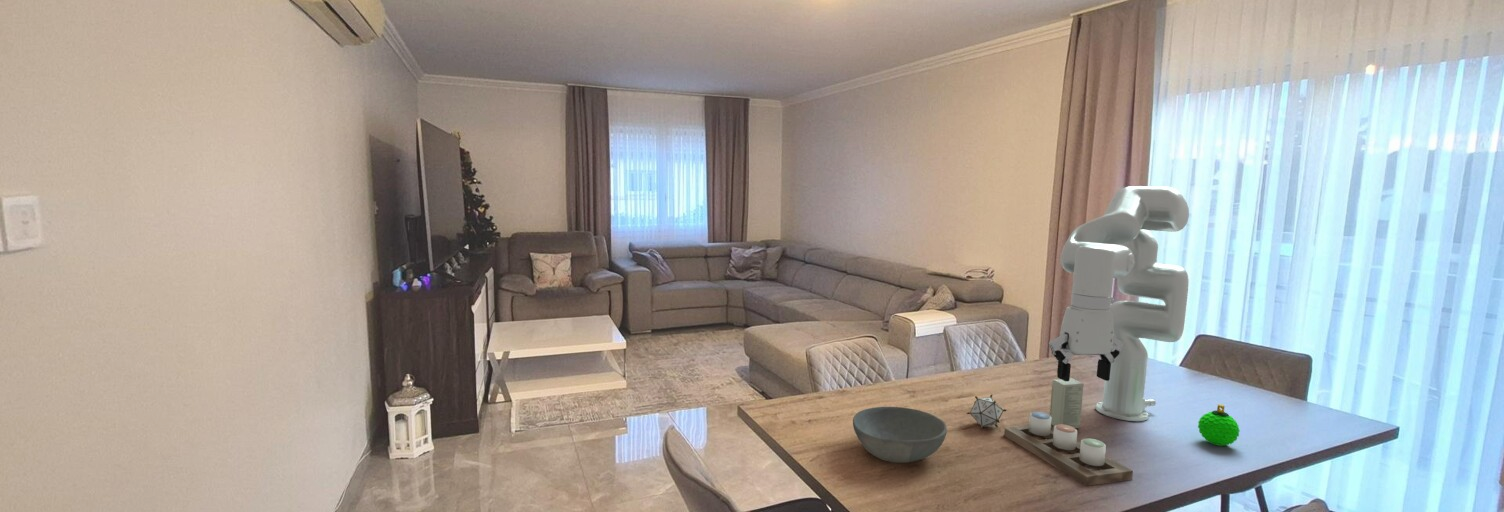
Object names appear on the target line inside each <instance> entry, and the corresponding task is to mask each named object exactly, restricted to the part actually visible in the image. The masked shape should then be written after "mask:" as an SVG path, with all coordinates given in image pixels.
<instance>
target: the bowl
mask: <svg viewBox="0 0 1504 512" xmlns="http://www.w3.org/2000/svg"><path fill="white" fill-rule="evenodd" d="M852 427H853V429H854V430H853V431H854V433H855V435H856V438H857V439H858V441H859V443H860V444H861V445H862V447H864V449H865V450H866V451H867V452H869V454H871V455H872V456H874V457H876V458H877V459H880V460H882V461H886V462H890V463H899V464H902V463H904V464H905V463H912V462H913V463H914V462H917V461H920V460H923V459H926V458H928V457H929V456H932V455H933V454H935V452H937V450H938V449H939V448H940V447H941V446H942V444H943V443H944V441H945V439H946V436H947V431H948V427H947V425H946V423H945V421H943V420H942V419H941V418H940V417H937V416H936V415H934V414H931V413H929V412H927V411H926V412H925V411H923V410H919V409H916V408H915V409H914V408H910V407H902V406H876V407H870V408H865V409H862V410H859V411H858V412H857V413H856V414H855V415H854V416H853V418H852Z"/></svg>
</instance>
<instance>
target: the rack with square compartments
mask: <svg viewBox="0 0 1504 512" xmlns="http://www.w3.org/2000/svg"><path fill="white" fill-rule="evenodd" d="M1053 433H1054V427H1052V426H1051V430H1050V435H1048V436H1041V438H1045V439H1039V440H1038V439H1037V438H1034V437H1035V436H1038V435H1036V434H1033V433H1031V432H1029V424H1028V425H1021V426H1019V425H1018V426H1010V427H1004V433H1003V436H1004V437H1006V438H1008V439H1009V440H1011V441H1012V442H1014V443H1016V444H1017V445H1020V447H1022V448H1024V449H1025V450H1027V451H1028V452H1031V453H1032V454H1033V455H1035V456H1037V457H1038V458H1040V459H1042V460H1044V461H1045V462H1047V463H1049V464H1050V465H1052V466H1053V467H1055V468H1057V469H1058V470H1060V471H1061V472H1063V473H1065V474H1066V475H1068V476H1070V477H1071V478H1073V479H1075V480H1076V481H1078V482H1079V483H1081V484H1083V485H1085V486H1086V487H1088V486H1095V485H1102V484H1109V483H1117V482H1124V481H1130V480H1131V481H1132V480H1133V473H1134V470H1133V469H1130V468H1129V467H1127V466H1125V465H1124V464H1121V463H1119V462H1117V461H1116V460H1114V459H1111V458H1110V457H1108V456H1106V455H1105V462H1104V465H1102V466H1095V468H1096V467H1097V468H1098V469H1099V470H1090V469H1088V468H1087V467H1085V466H1086V465H1087V464H1086V463H1084V462H1082V461H1081V460H1080V459H1079V456H1080V446H1081V441H1080V442H1079V441H1078V440H1076V449H1074V450H1066V451H1067V452H1069V453H1068V454H1062V453H1060V452H1059V451H1057V450H1061V449H1060V448H1058V447H1055V446H1054V445H1053ZM1083 465H1085V466H1083Z"/></svg>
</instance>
